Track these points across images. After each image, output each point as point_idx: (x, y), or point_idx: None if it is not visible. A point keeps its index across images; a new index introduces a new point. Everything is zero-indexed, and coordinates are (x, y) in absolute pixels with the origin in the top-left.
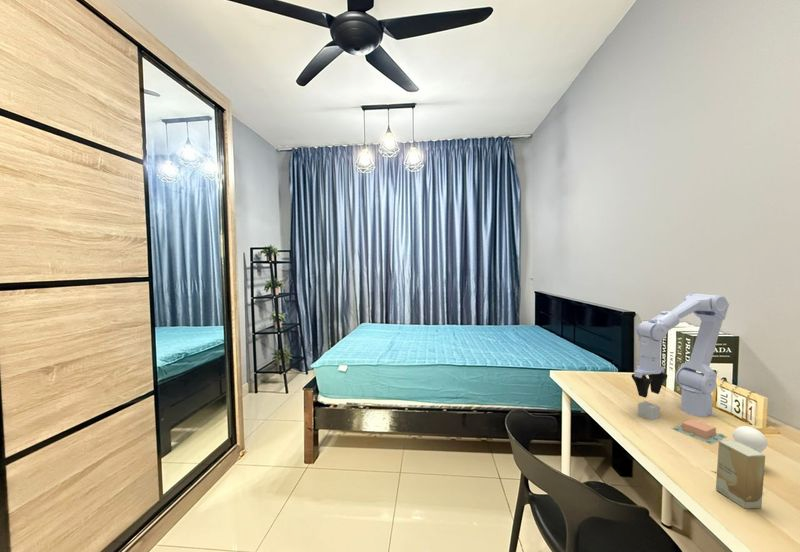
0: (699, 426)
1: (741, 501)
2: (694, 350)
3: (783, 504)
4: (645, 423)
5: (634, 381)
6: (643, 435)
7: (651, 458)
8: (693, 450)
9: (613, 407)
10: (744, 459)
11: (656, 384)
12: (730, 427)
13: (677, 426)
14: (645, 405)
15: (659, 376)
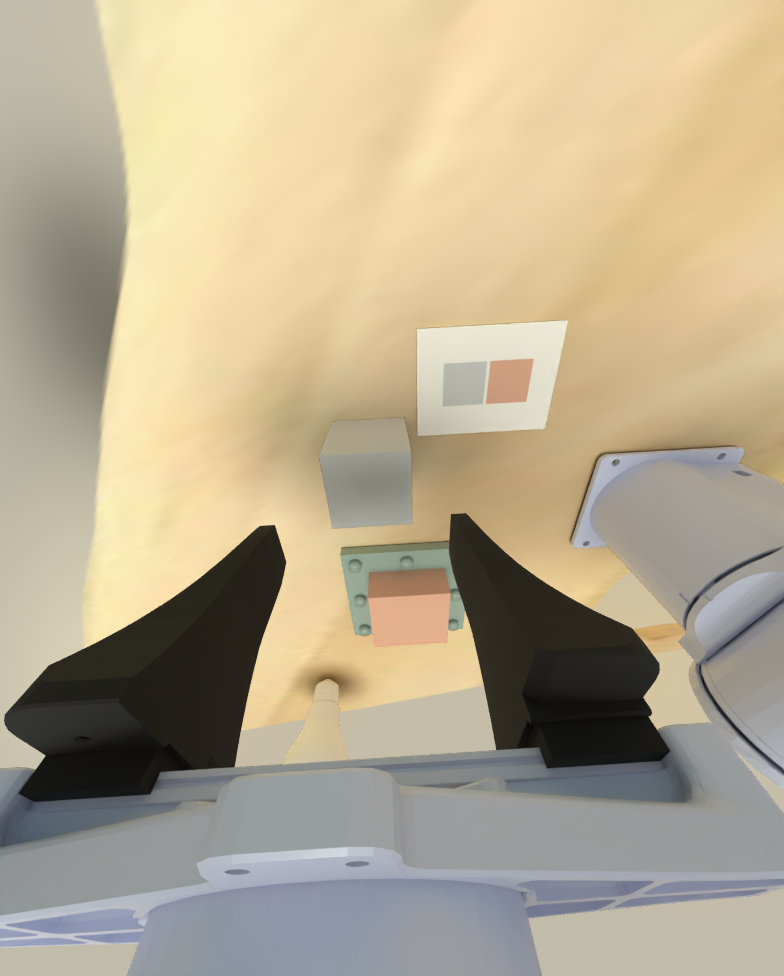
0: (397, 627)
1: None
2: None
3: (251, 723)
4: (300, 478)
5: (137, 622)
6: (187, 534)
7: (92, 613)
8: (278, 622)
9: (305, 249)
10: None
11: (474, 604)
12: (586, 591)
13: (388, 553)
14: (334, 492)
15: (504, 726)
